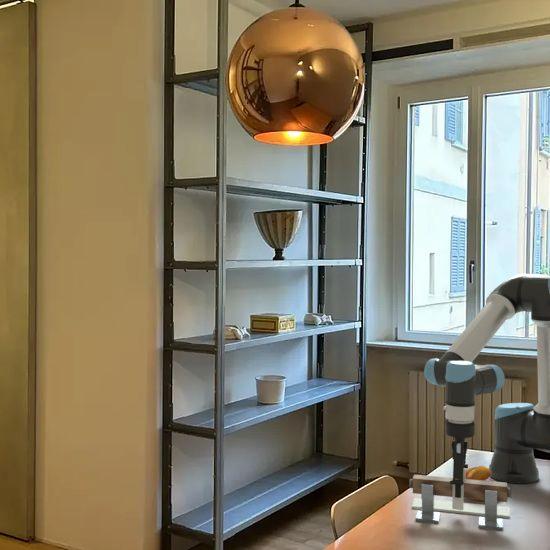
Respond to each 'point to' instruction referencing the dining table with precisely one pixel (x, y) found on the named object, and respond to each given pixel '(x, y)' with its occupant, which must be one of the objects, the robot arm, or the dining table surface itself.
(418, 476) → the rail
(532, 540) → the dining table surface
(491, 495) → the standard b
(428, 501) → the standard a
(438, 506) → the white plank
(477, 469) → the cheeseburger
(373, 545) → the dining table surface
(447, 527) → the dining table surface
